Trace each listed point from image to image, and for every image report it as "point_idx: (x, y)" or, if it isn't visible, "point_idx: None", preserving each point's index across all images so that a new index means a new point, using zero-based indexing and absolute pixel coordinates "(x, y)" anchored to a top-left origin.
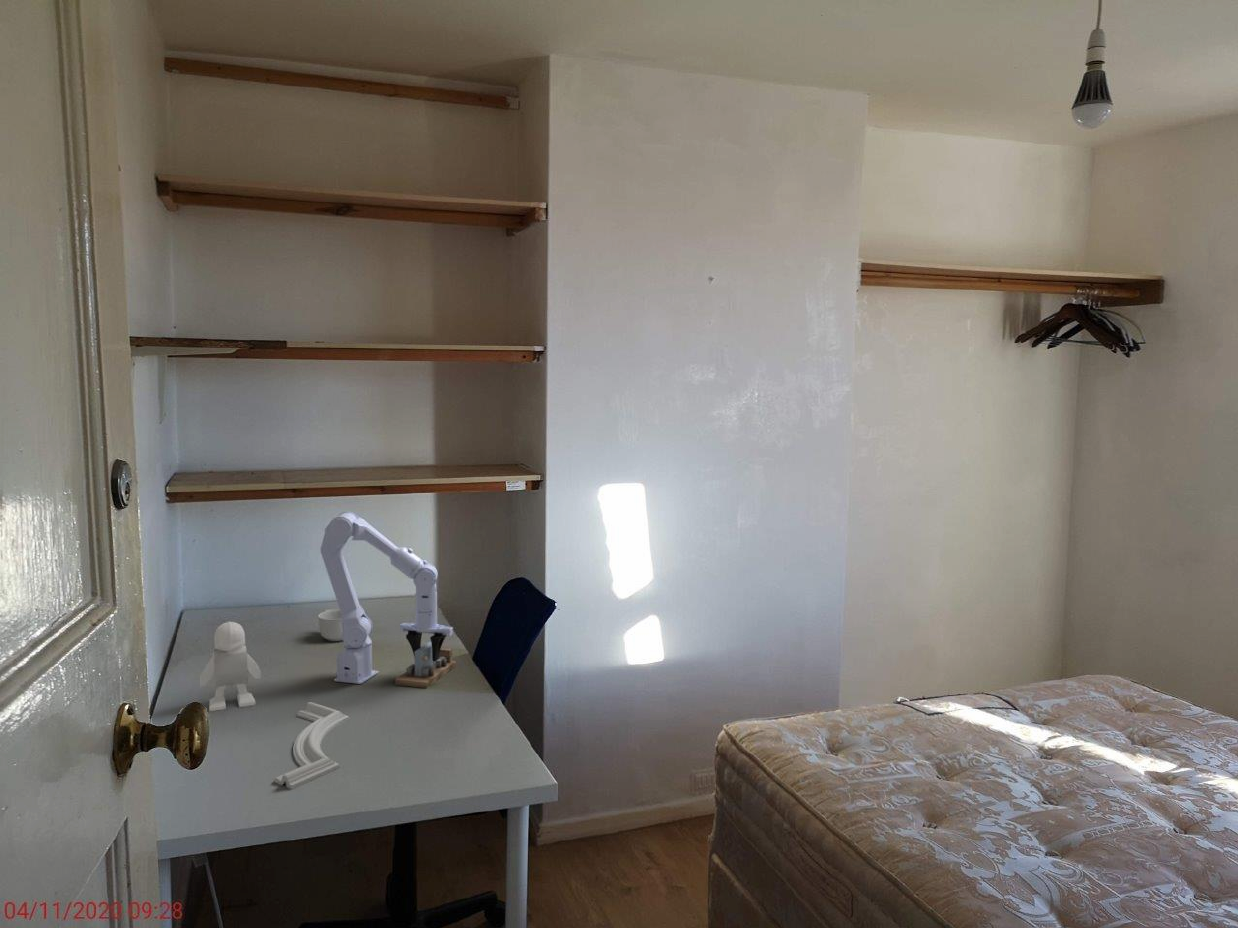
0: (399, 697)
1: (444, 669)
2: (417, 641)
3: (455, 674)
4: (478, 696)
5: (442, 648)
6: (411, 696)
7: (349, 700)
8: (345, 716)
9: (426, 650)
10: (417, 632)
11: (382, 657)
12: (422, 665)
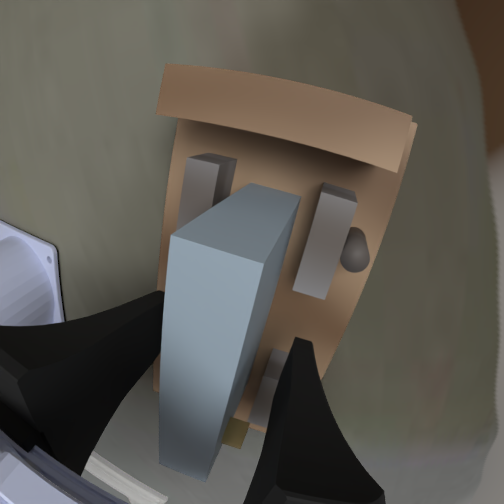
0: (221, 458)
1: (358, 298)
2: (96, 399)
3: (418, 277)
4: (459, 464)
5: (309, 105)
6: (255, 461)
7: (113, 436)
8: (161, 501)
9: (218, 442)
10: (42, 442)
11: (22, 57)
12: (234, 413)
